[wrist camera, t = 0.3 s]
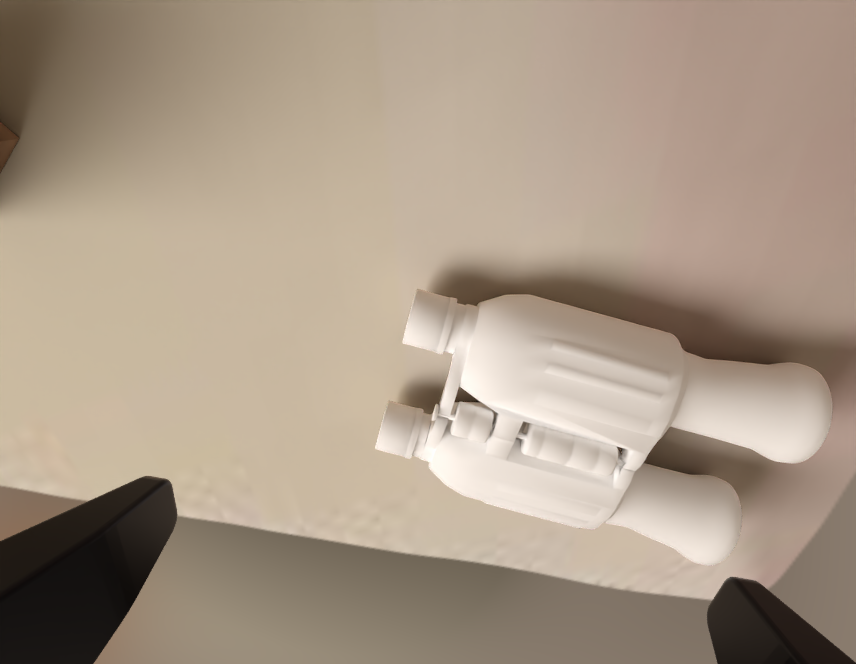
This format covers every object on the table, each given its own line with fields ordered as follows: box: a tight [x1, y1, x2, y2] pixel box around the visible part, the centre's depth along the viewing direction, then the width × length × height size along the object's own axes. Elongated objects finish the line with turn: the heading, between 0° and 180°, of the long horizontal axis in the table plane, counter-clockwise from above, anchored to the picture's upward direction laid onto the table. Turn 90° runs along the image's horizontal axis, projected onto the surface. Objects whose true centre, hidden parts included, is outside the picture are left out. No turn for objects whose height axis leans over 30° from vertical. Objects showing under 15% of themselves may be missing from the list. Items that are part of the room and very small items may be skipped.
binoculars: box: [375, 289, 833, 566], centre depth 22 cm, size 10×16×5 cm, turn 76°
